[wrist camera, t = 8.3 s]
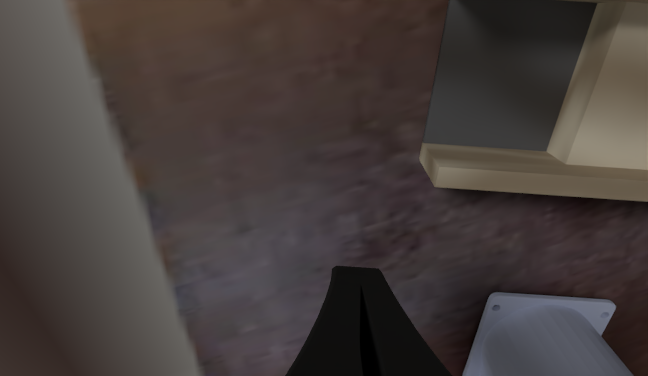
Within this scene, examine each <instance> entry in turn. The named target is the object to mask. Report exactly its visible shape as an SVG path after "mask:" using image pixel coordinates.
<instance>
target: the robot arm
mask: <svg viewBox="0 0 648 376" xmlns="http://www.w3.org/2000/svg"><path fill="white" fill-rule="evenodd" d="M494 305H497V306H495V307H493V306H494ZM615 309H616V306H615V304H614V303H613V302H612V301H611V300H607V299H592V298H577V297H562V296H547V295H533V294H518V293H503V292H495V293H492V294H491V295H490V296H489V297H488V300H487V303H486V306H485V309H484V312H483V315H482V318H481V321H480V324H479V327H478V330H477V333H476V336H475V339H474V342H473V345H472V348H471V351H470V354H469V357H468V360H467V363H466V366H465V369H464V372H463V375H462V376H633V374H632V373H631V372H630V371H629V370H628V368H627V367H626V366H625V365H624V363H623V362H622V361H621V360H620V359H619V357H618V356H617V355H616V354H615V353H614V351H613V350H612V349H611V348H610V346H609V345H608V344H607V343H606V342H605V340H604V339H603V338H602V337H601V335H602V333H603V331H604V330H605V328H606V326H607V324H608V322H609V320H610V318H611V317H612V315H613V313H614V311H615ZM285 376H452V375H451V374H450V373H449V371H448V370H447V369H446V368H445V367H444V365H443V364H442V363H441V362H440V360H439V359H438V358H437V357H436V355H435V354H434V353H433V351H432V350H431V349H430V347H429V346H428V345H427V344H426V342H425V341H424V340H423V338H422V337H421V335H420V334H419V333H418V331H417V330H416V328H415V327H414V325H413V324H412V322H411V321H410V319H409V318H408V316H407V315H406V313H405V312H404V310H403V309H402V307H401V306H400V304H399V302H398V301H397V299H396V297H395V296H394V294H393V292H392V291H391V289H390V287H389V285H388V283H387V282H386V280H385V278H384V276H383V274H382V272H381V271H380V270H379V269H376V268H361V267H347V266H335V267H334V268H333V269H332V276H331V282H330V286H329V289H328V292H327V295H326V298H325V301H324V303H323V305H322V308H321V310H320V313H319V315H318V318H317V320H316V322H315V324H314V326H313V328H312V330H311V332H310V334H309V336H308V338H307V340H306V342H305V344H304V345H303V347H302V349H301V351H300V353H299V354H298V356H297V358H296V359H295V361H294V363H293V364H292V366H291V367H290V369H289V371H288V372H287V374H286V375H285Z"/></svg>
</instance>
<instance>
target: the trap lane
mask: <svg viewBox="0 0 648 376" xmlns="http://www.w3.org/2000/svg"><path fill="white" fill-rule="evenodd" d="M419 160H420V162H421V163H422V165H423V167H424V169H425V170H426V172H427V174H428V176H429V177H430V179H431V181H432V183H433V184H434V186H435V187H441V188H456V189H470V190H485V191H500V192H514V193H529V194H543V195H558V196H572V197H587V198H602V199H616V200H631V201H645V202H648V0H449V3H448V8H447V14H446V19H445V24H444V30H443V35H442V40H441V46H440V51H439V56H438V62H437V67H436V72H435V78H434V83H433V88H432V94H431V99H430V104H429V110H428V115H427V120H426V126H425V131H424V136H423V142H422V147H421V152H420V157H419Z"/></svg>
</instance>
